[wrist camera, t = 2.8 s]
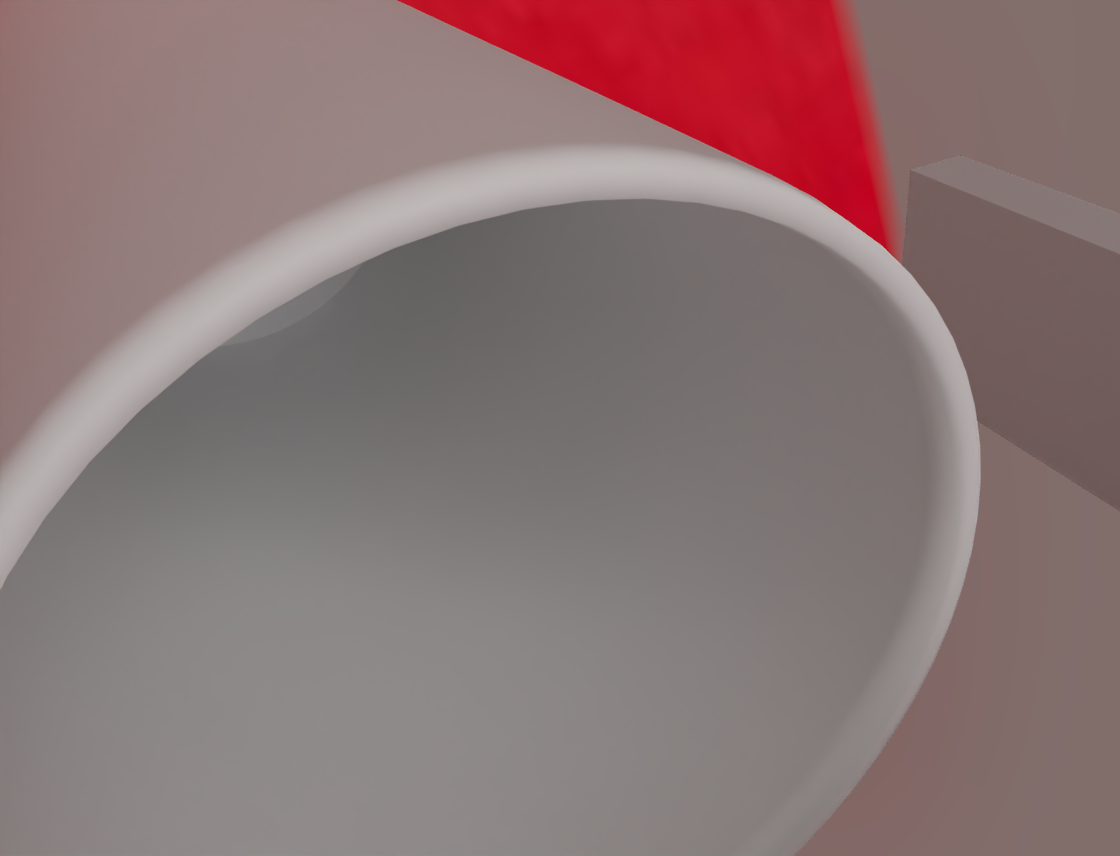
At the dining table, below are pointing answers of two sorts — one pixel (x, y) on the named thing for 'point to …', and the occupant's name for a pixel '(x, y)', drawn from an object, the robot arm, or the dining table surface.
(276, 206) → the cup
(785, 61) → the dining table surface
